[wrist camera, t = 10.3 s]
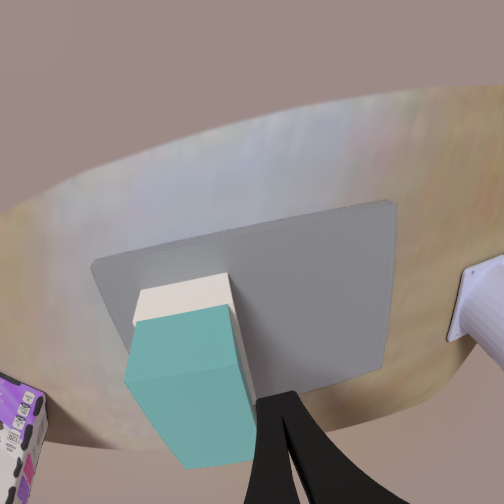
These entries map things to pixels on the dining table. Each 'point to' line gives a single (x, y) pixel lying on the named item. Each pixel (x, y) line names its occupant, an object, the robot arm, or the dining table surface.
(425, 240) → the dining table surface
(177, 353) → the teal brick
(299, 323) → the baseplate
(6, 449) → the candy box
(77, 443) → the dining table surface
